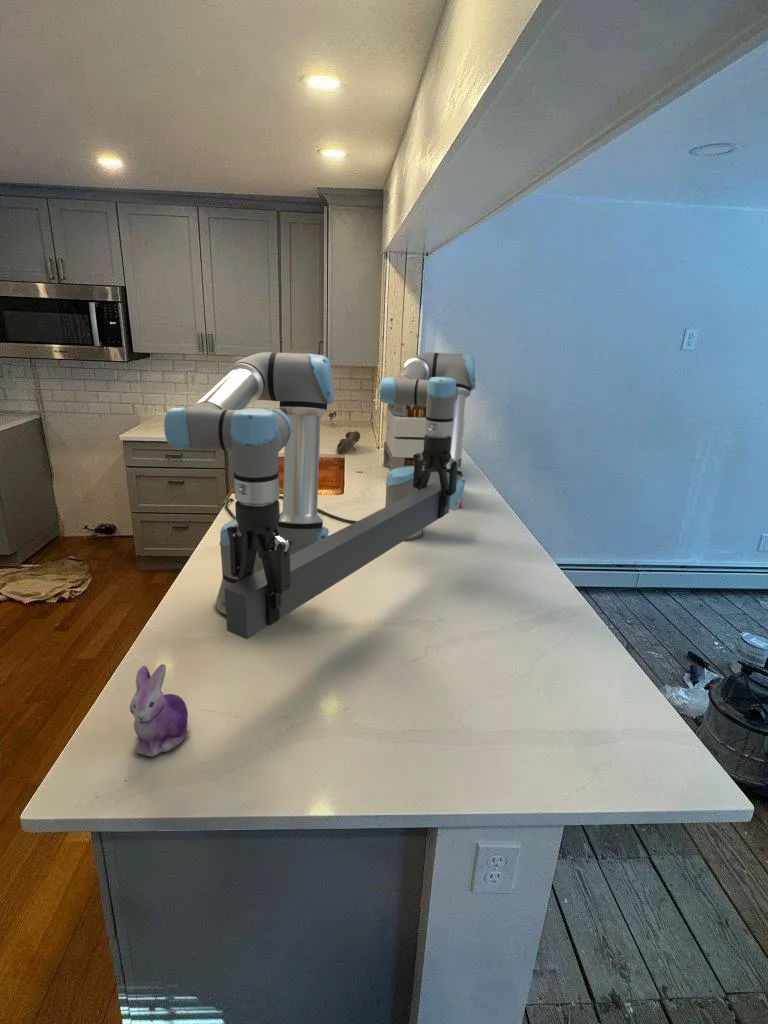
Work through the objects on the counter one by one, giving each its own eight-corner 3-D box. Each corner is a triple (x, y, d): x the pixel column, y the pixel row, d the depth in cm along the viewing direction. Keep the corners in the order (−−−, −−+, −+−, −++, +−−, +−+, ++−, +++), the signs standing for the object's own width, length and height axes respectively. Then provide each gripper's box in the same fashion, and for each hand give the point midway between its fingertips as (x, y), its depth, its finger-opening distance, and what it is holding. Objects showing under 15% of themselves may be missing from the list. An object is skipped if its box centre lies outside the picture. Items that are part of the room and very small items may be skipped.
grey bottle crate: (382, 463, 289) (386, 382, 275) (445, 464, 293) (451, 384, 279) (390, 482, 257) (394, 392, 243) (460, 483, 261) (468, 394, 247)
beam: (433, 509, 170) (436, 481, 167) (448, 512, 168) (451, 484, 165) (226, 630, 102) (224, 588, 99) (247, 639, 100) (245, 596, 97)
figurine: (137, 767, 96) (127, 693, 90) (132, 728, 104) (122, 659, 99) (195, 750, 100) (189, 678, 95) (185, 714, 108) (179, 646, 103)
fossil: (337, 437, 322) (357, 422, 317) (347, 450, 325) (368, 435, 320) (330, 450, 302) (352, 434, 297) (341, 464, 305) (363, 448, 300)
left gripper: (204, 494, 99) (212, 611, 108) (282, 517, 91) (285, 642, 99) (235, 484, 106) (241, 595, 114) (312, 505, 97) (312, 623, 105)
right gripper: (402, 432, 157) (398, 511, 165) (462, 442, 148) (455, 525, 156) (415, 428, 163) (411, 504, 171) (473, 437, 154) (466, 517, 162)
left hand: (261, 617), depth 106 cm, fingers closed on beam, 5 cm apart
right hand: (432, 514), depth 164 cm, fingers closed on beam, 5 cm apart
